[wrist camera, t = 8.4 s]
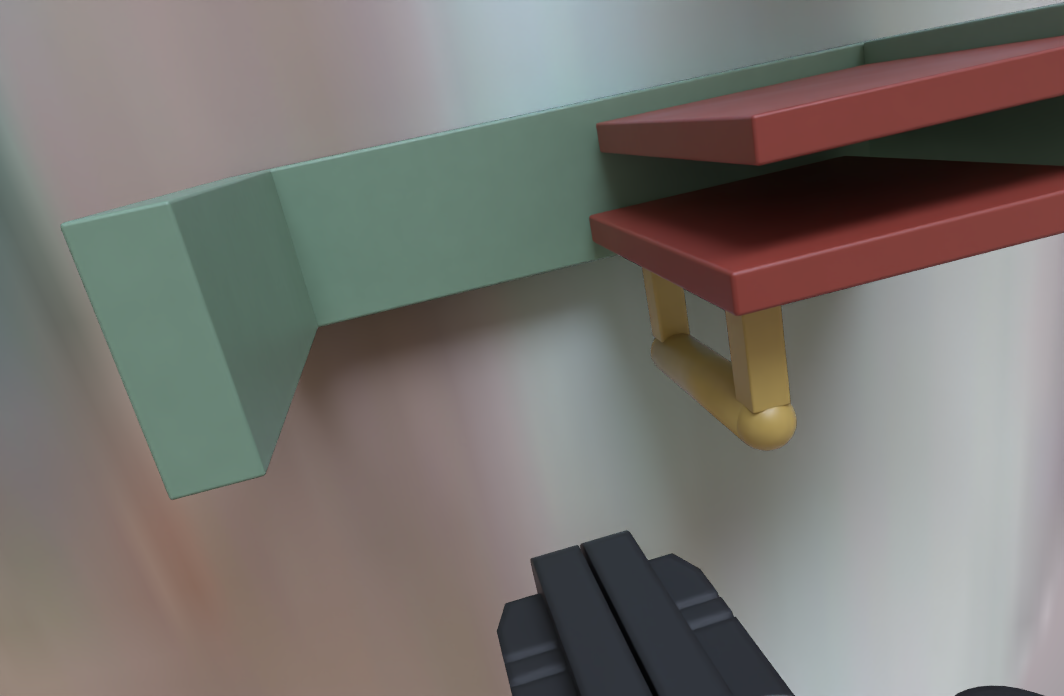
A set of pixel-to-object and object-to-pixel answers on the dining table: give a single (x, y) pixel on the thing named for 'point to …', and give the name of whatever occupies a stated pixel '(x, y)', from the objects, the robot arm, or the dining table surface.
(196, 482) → the green double frame
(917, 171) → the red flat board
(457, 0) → the dining table surface
